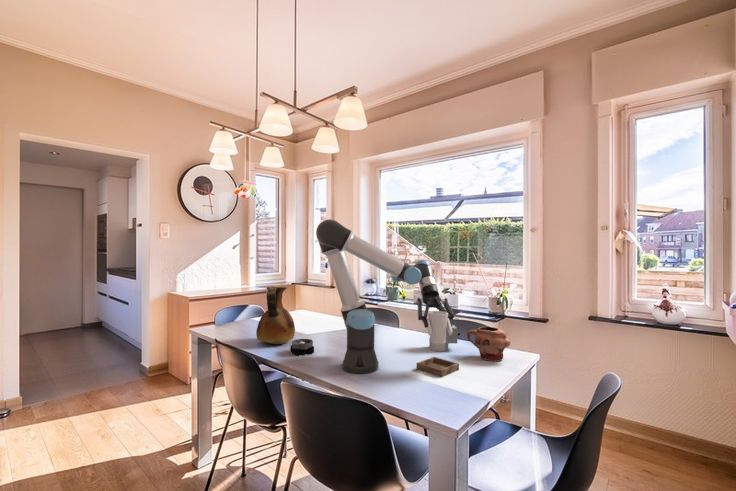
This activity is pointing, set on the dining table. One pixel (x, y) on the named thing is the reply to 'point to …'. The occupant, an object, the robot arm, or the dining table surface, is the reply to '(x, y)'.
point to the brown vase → (275, 319)
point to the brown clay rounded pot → (490, 342)
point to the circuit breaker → (449, 339)
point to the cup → (438, 326)
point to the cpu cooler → (302, 347)
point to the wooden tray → (437, 366)
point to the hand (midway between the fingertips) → (440, 333)
